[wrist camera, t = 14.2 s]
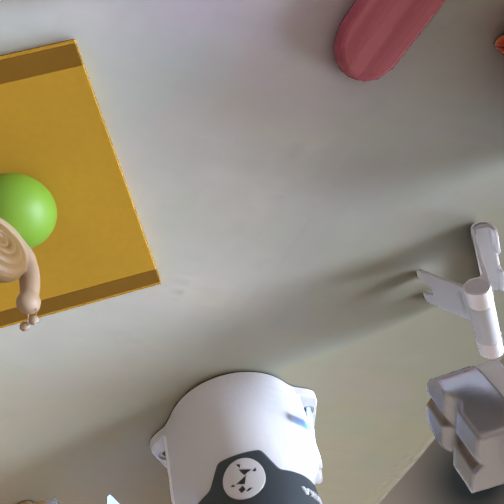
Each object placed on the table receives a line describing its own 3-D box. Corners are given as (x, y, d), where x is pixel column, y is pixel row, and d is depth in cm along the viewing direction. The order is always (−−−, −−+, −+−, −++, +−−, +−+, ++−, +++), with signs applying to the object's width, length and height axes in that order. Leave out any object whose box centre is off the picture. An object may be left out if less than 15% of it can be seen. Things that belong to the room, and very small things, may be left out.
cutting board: (160, 281, 42) (161, 284, 41) (0, 325, 40) (-1, 328, 40) (74, 38, 31) (74, 39, 31) (-147, 89, 30) (-151, 90, 29)
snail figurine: (32, 250, 37) (-5, 354, 27) (-37, 190, 34) (-108, 283, 24) (86, 211, 37) (69, 303, 27) (21, 146, 33) (-27, 223, 23)
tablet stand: (495, 279, 51) (554, 329, 44) (429, 313, 51) (476, 368, 44) (483, 217, 46) (547, 261, 39) (410, 254, 46) (460, 305, 39)
